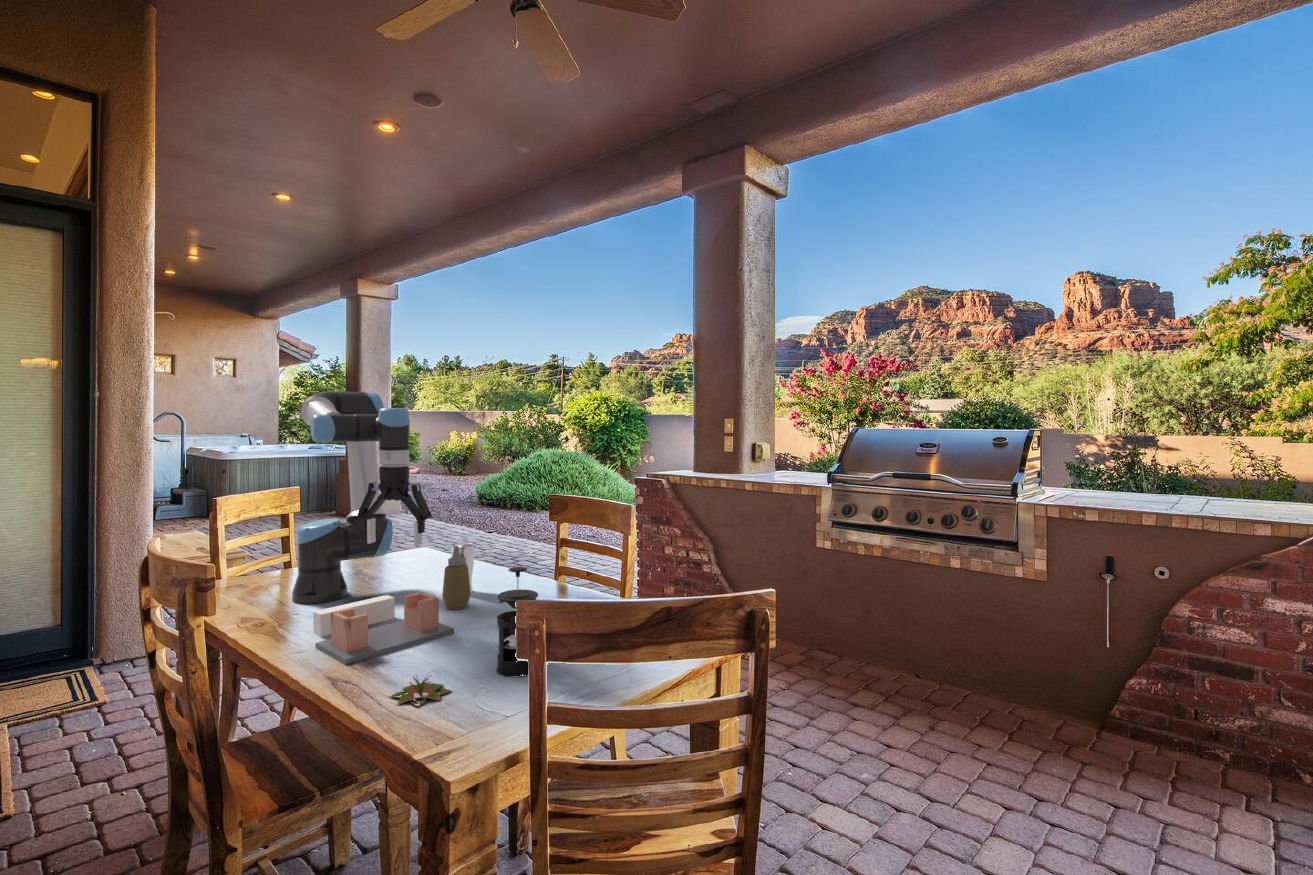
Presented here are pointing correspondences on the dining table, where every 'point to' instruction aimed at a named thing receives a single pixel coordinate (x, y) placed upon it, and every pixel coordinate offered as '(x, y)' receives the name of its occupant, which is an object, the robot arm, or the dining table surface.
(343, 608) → the slat
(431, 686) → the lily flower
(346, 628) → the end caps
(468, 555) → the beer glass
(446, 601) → the squeeze bottle
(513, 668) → the french press
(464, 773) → the dining table surface
